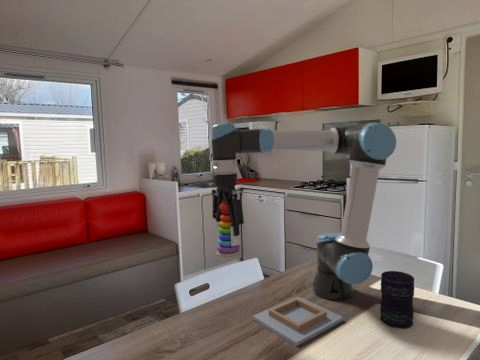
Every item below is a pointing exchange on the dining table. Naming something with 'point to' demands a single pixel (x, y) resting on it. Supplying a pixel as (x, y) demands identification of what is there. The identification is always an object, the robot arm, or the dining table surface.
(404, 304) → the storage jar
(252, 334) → the dining table surface
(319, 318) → the baseplate
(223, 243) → the stacking toy
